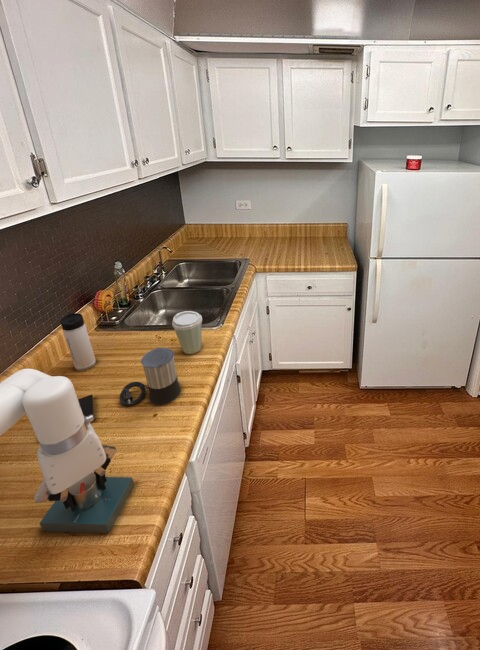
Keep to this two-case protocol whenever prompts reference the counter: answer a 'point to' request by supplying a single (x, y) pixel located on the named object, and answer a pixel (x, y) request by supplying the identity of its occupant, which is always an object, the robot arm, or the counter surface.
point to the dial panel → (91, 510)
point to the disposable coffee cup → (188, 330)
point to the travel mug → (78, 341)
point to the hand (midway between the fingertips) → (87, 495)
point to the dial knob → (85, 492)
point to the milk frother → (156, 379)
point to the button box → (87, 406)
